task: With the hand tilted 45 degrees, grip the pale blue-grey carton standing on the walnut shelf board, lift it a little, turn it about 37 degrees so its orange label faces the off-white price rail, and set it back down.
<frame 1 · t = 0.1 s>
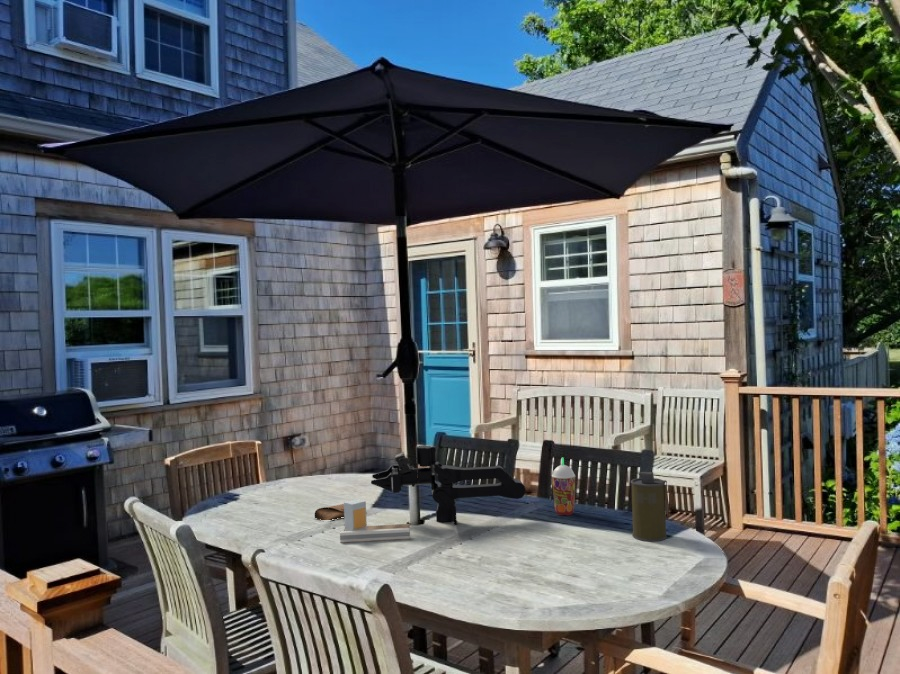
hand: (371, 479, 249), 17 cm above the table, tool horizontal, fingers open, 9 cm apart
canister: (650, 537, 227), on the table
sunglasses case: (341, 517, 267), on the table
carton: (367, 538, 232), point 1 cm above the table, touching shelf board
price rail: (375, 539, 231), resting on shelf board
smoothie: (564, 514, 258), on the table
shelf board: (376, 536, 239), on the table
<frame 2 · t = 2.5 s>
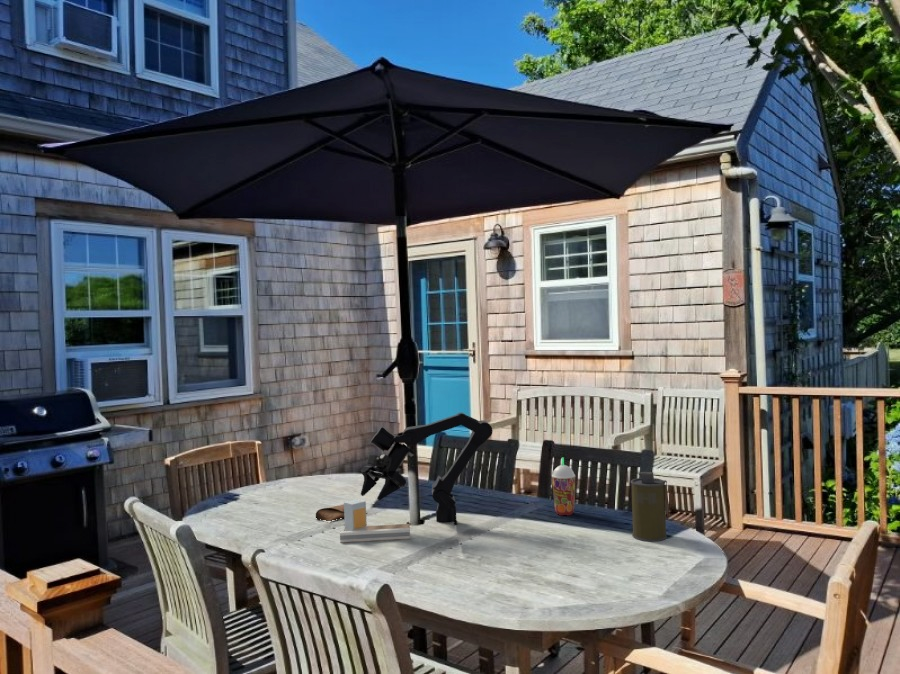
hand: (369, 497, 241), 12 cm above the table, tool tilted 45°, fingers open, 9 cm apart
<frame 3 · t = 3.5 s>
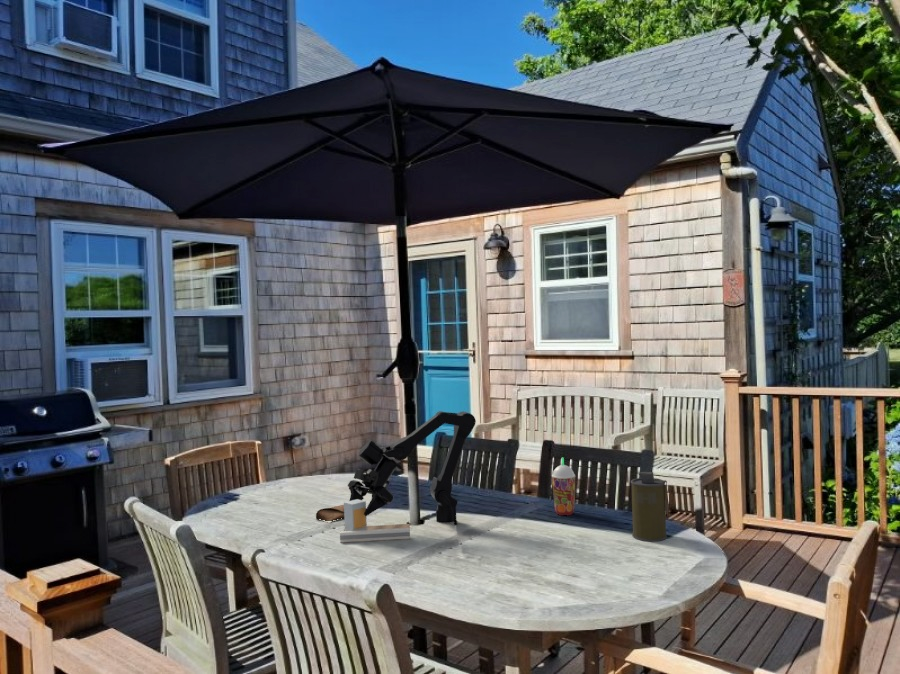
hand: (356, 512, 237), 8 cm above the table, tool tilted 45°, fingers open, 9 cm apart
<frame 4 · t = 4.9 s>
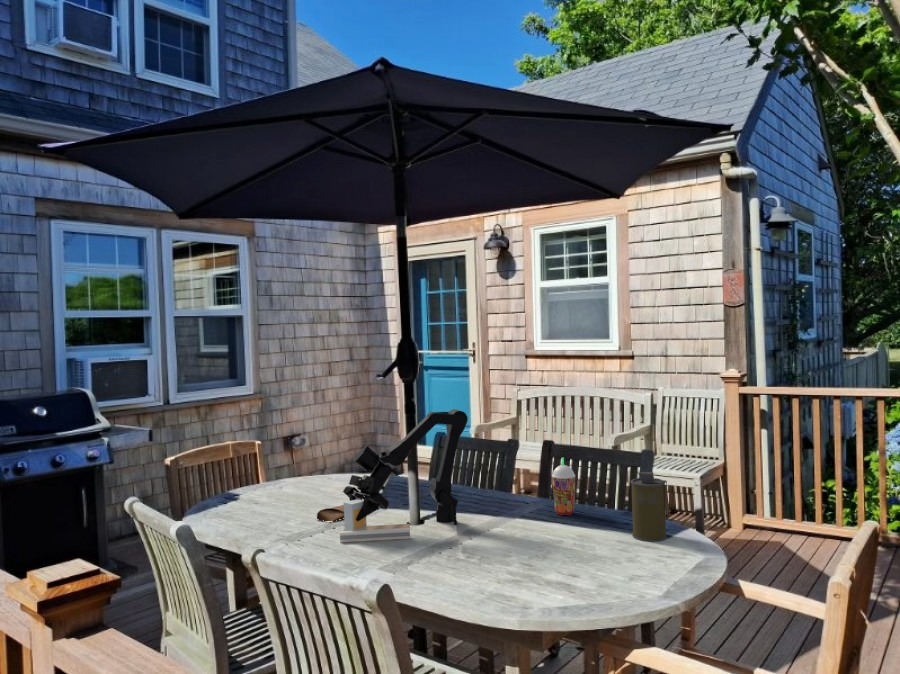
hand: (351, 519, 236), 7 cm above the table, tool tilted 45°, fingers closed on carton, 5 cm apart
carton: (367, 538, 232), point 1 cm above the table, touching gripper, shelf board
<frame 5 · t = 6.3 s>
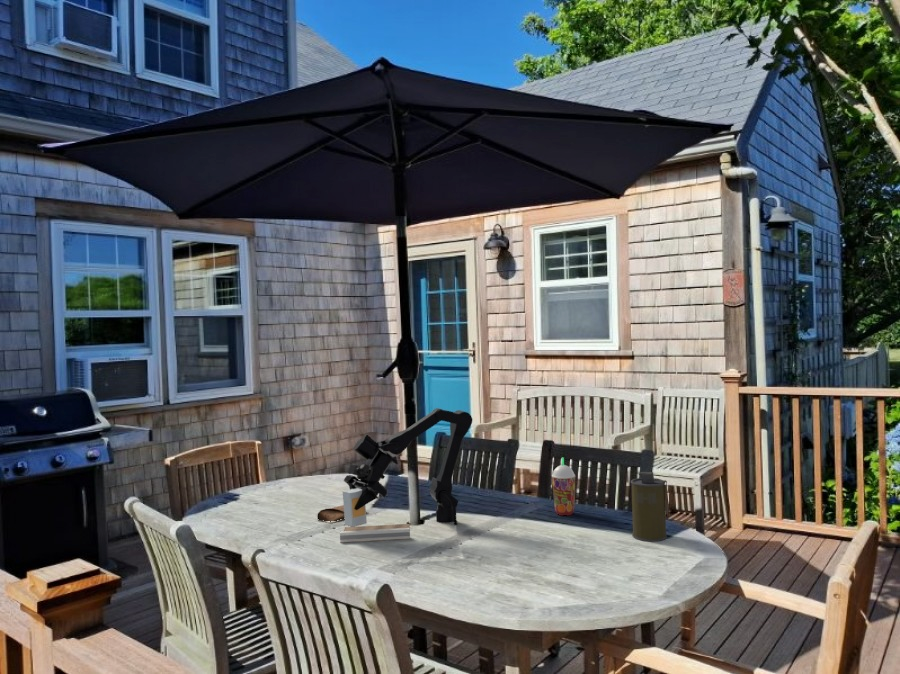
hand: (351, 508, 236), 10 cm above the table, tool tilted 45°, fingers closed on carton, 5 cm apart
carton: (365, 527, 232), point 5 cm above the table, touching gripper
when the fingers open (7 cm above the table, at t = 8.2 s): carton stays where it is, resting on shelf board.
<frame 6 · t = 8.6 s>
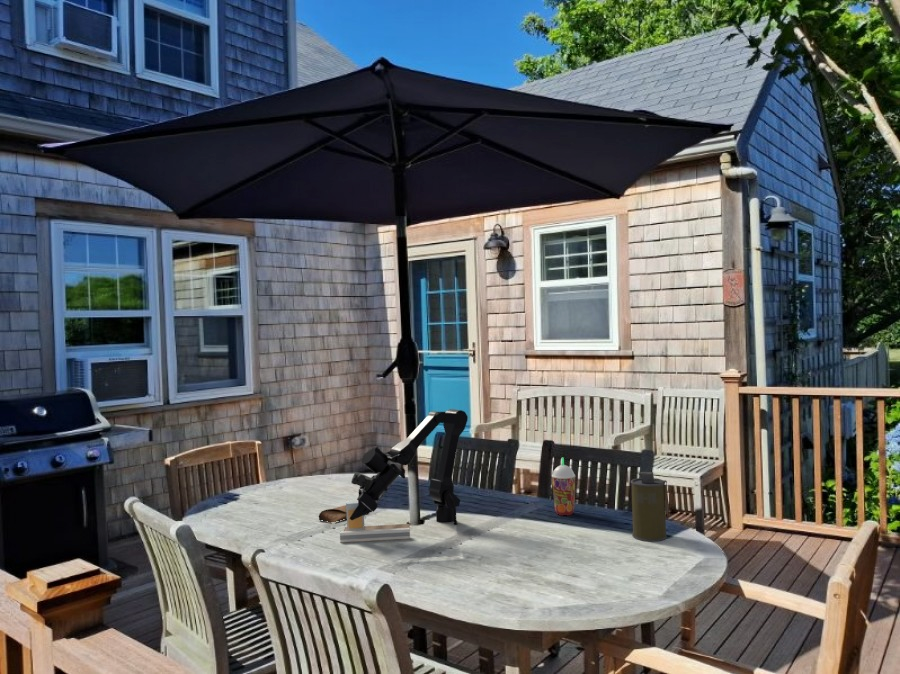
hand: (350, 515, 236), 8 cm above the table, tool tilted 45°, fingers open, 9 cm apart
carton: (355, 540, 231), point 1 cm above the table, touching shelf board
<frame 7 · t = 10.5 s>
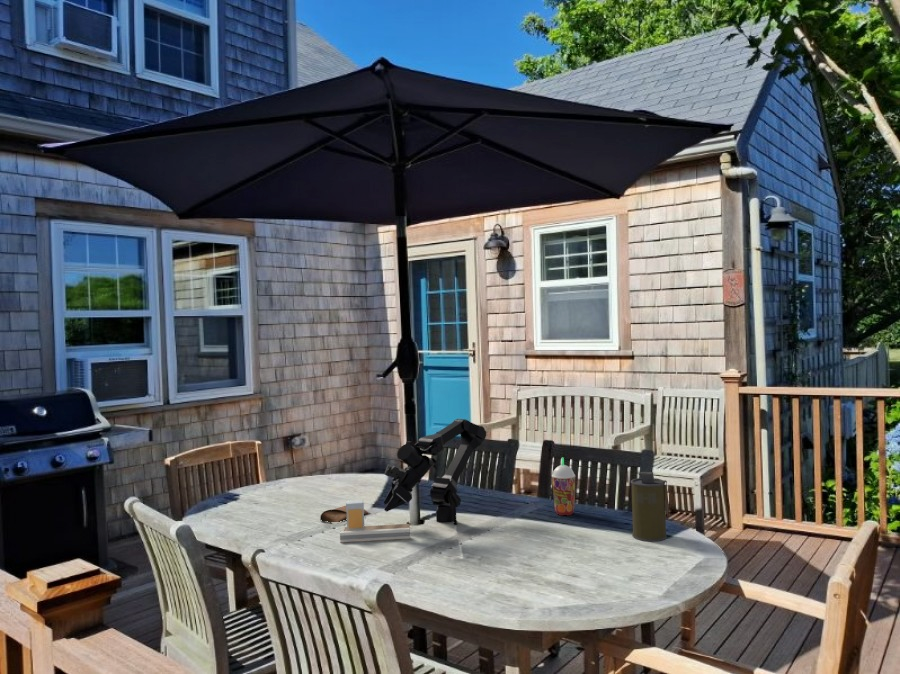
hand: (384, 507, 240), 9 cm above the table, tool tilted 45°, fingers open, 9 cm apart
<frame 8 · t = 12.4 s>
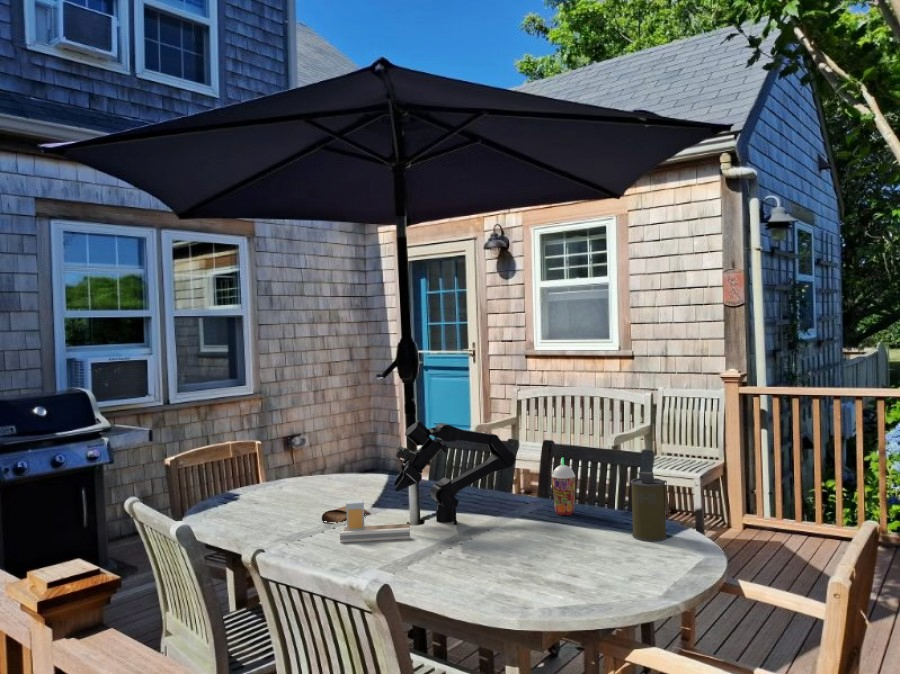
hand: (395, 487, 248), 14 cm above the table, tool tilted 45°, fingers open, 9 cm apart
at the end: carton 0.9 cm from the target spot, point 1.0 cm above the table; carton tilted 0°; the gripper is holding nothing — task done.
